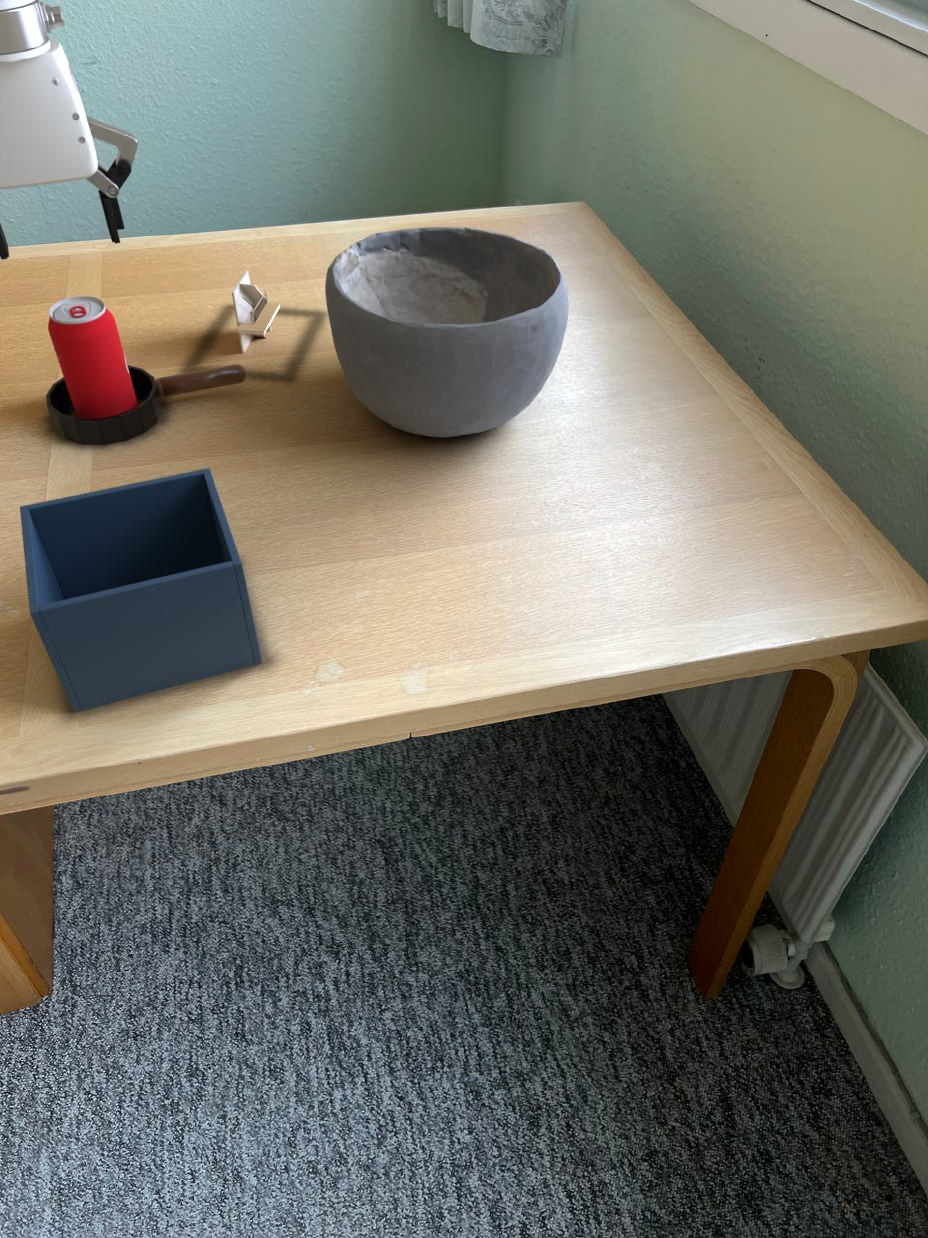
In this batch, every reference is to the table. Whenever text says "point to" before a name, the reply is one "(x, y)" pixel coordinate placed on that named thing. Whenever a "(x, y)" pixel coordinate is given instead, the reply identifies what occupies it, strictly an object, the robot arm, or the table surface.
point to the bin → (137, 588)
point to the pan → (140, 416)
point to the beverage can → (91, 357)
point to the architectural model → (252, 311)
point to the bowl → (446, 326)
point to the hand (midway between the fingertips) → (60, 245)
